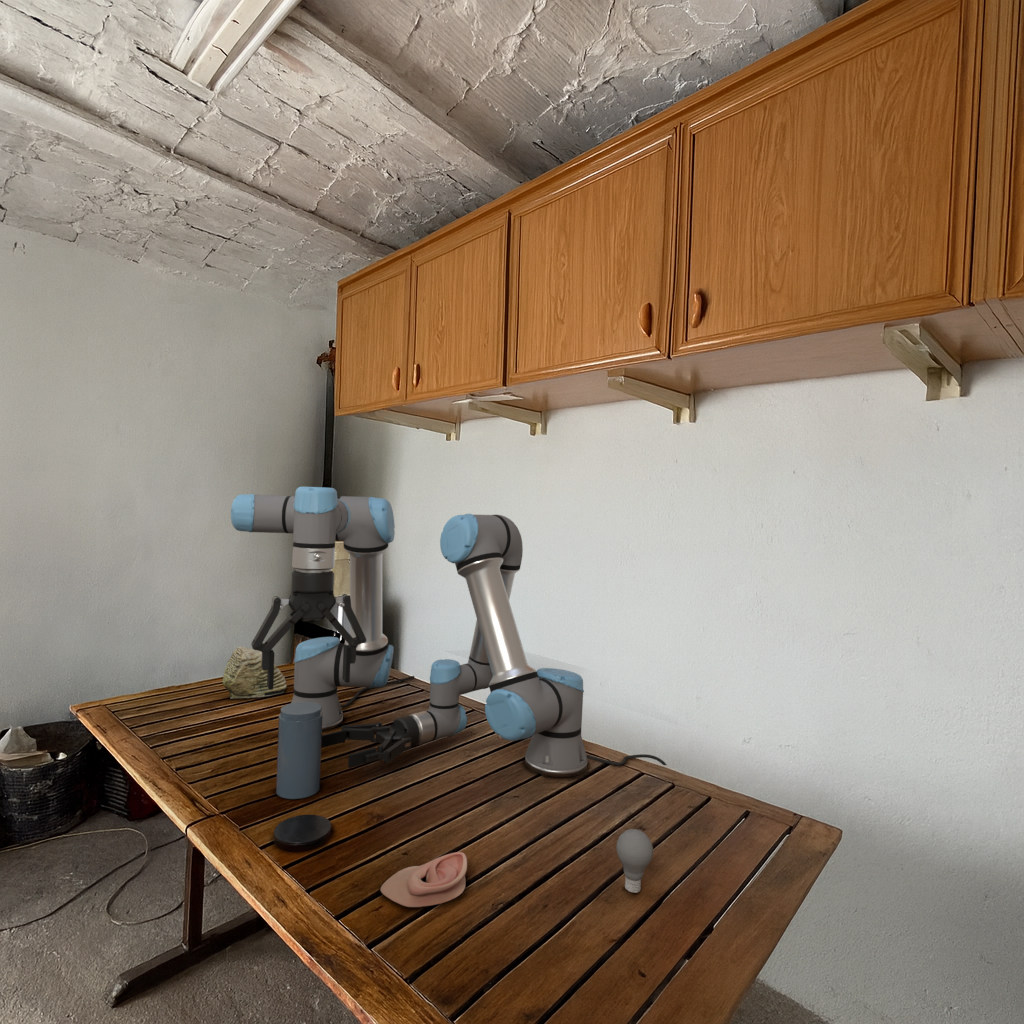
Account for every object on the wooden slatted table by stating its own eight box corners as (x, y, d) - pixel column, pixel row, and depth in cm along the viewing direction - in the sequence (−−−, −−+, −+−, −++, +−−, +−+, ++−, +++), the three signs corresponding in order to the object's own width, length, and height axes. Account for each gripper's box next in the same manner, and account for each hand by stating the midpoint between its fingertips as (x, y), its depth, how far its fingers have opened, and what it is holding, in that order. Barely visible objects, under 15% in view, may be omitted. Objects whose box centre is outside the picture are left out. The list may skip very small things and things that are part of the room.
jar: (290, 803, 130) (293, 718, 130) (267, 789, 136) (270, 707, 136) (328, 789, 137) (331, 708, 137) (305, 776, 143) (308, 698, 143)
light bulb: (610, 879, 108) (613, 822, 108) (644, 879, 109) (647, 822, 109) (619, 902, 102) (622, 840, 102) (655, 901, 103) (658, 840, 103)
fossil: (218, 695, 195) (220, 647, 195) (278, 685, 208) (279, 640, 207) (228, 703, 189) (230, 653, 188) (289, 692, 201) (290, 645, 201)
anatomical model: (373, 876, 100) (400, 838, 111) (372, 901, 100) (399, 861, 111) (454, 890, 97) (473, 850, 108) (452, 915, 97) (472, 873, 108)
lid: (330, 820, 124) (330, 812, 124) (331, 848, 115) (331, 839, 115) (275, 826, 121) (275, 817, 121) (271, 855, 112) (272, 845, 112)
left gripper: (241, 573, 108) (237, 696, 109) (385, 571, 120) (380, 683, 120) (238, 568, 115) (234, 684, 115) (374, 567, 126) (370, 672, 127)
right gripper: (442, 762, 148) (362, 787, 133) (383, 730, 166) (307, 750, 151) (443, 730, 148) (363, 752, 133) (384, 702, 165) (308, 719, 151)
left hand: (309, 684), depth 118 cm, fingers open, 13 cm apart
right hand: (333, 751), depth 142 cm, fingers open, 13 cm apart
